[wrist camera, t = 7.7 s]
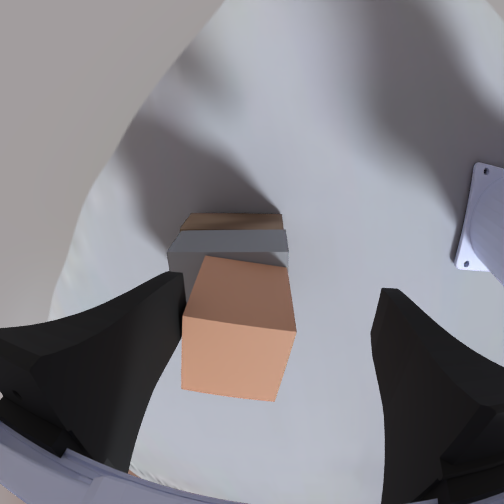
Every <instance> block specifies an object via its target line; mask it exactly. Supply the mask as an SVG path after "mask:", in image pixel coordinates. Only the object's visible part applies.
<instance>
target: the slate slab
mask: <svg viewBox="0 0 504 504" xmlns="http://www.w3.org/2000/svg"><path fill="white" fill-rule="evenodd" d="M205 255H206V256H212V257H219V258H225V259H232V260H239V261H246V262H252V263H259V264H266V265H273V266H280V267H286V268H287V271H288V261H289V250H288V243H287V236H286V230H187V231H181V232H180V233H179V235H178V236H177V238H176V239H175V241H174V242H173V244H172V245H171V247H170V248H169V249H168V251H167V258H168V264H169V271H171V272H181V273H183V278H184V286H185V294H186V302H188V300H189V297H190V294H191V292H192V289H193V286H194V284H195V281H196V278H197V276H198V273H199V270H200V268H201V265H202V263H203V260H204V257H205Z"/></svg>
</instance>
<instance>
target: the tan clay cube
mask: <svg viewBox="0 0 504 504" xmlns="http://www.w3.org/2000/svg"><path fill="white" fill-rule="evenodd" d="M296 332H297V331H296V324H295V317H294V310H293V304H292V297H291V290H290V284H289V277H288V271H287V268H286V267H280V266H273V265H266V264H259V263H252V262H246V261H239V260H232V259H225V258H219V257H212V256H206V255H205V257H204V260H203V263H202V265H201V268H200V270H199V273H198V276H197V278H196V281H195V284H194V286H193V289H192V292H191V294H190V297H189V300H188V302H187V305H186V308H185V311H184V313H183V319H182V367H181V389H185V390H190V391H196V392H202V393H208V394H214V395H221V396H228V397H236V398H244V399H253V400H262V401H273V402H275V399H276V396H277V393H278V390H279V387H280V384H281V381H282V377H283V374H284V371H285V368H286V365H287V362H288V359H289V355H290V352H291V349H292V346H293V342H294V339H295V336H296Z"/></svg>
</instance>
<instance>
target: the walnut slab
mask: <svg viewBox="0 0 504 504" xmlns="http://www.w3.org/2000/svg"><path fill="white" fill-rule="evenodd" d="M187 230H284V228H283V220H282V214H249V213H191V214H190V216H189V217H188V218H187V220H186V221H185V222H184V224H183V225H182V227H181V228H180V232H181V231H187Z"/></svg>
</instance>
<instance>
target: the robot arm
mask: <svg viewBox="0 0 504 504" xmlns="http://www.w3.org/2000/svg"><path fill="white" fill-rule="evenodd" d="M485 168H486V170H487V171H486V173H485V174H484V169H485ZM466 261H467V263H466V264H465V265H464V263H465V262H466ZM454 265H455V267H456V268H457V269H460V270H474V271H487V272H491V273H492V274H493V275H494V276H495V277H496V278H497V279H498V280H499V282H500V283H501V284H502V285H503V286H504V168H500V167H496V166H492V165H489V164H485V163H481V162H477V163H476V164H475V165H474V168H473V175H472V182H471V188H470V194H469V199H468V205H467V210H466V215H465V220H464V224H463V229H462V233H461V237H460V242H459V246H458V249H457V253H456V257H455V261H454ZM186 305H187V302H186V294H185V286H184V278H183V273H181V272H171V271H168V272H165V273H163V274H160V275H158V276H156V277H154V278H152V279H151V280H149V281H147V282H145V283H143V284H141V285H139V286H137V287H136V288H134V289H132V290H130V291H128V292H126V293H124V294H122V295H120V296H118V297H116V298H114V299H112V300H110V301H108V302H106V303H104V304H101V305H99V306H97V307H94V308H92V309H89V310H86V311H84V312H81V313H78V314H75V315H71V316H68V317H65V318H61V319H58V320H54V321H49V322H45V323H40V324H34V325H28V326H19V327H9V328H0V392H1V393H2V395H3V397H2V398H1V400H0V484H2V485H3V486H4V487H6V488H7V489H8V490H9V491H11V492H12V493H13V494H14V495H16V496H17V497H18V498H20V499H21V500H23V501H24V502H25V503H27V504H247V503H241V502H234V501H228V500H223V499H217V498H212V497H207V496H203V495H198V494H194V493H190V492H186V491H182V490H178V489H174V488H171V487H167V486H164V485H160V484H157V483H154V482H150V481H147V480H144V479H141V478H138V477H135V476H132V475H130V474H128V470H129V466H130V461H131V457H132V453H133V449H134V446H135V442H136V439H137V435H138V432H139V429H140V426H141V423H142V420H143V417H144V414H145V411H146V408H147V406H148V403H149V400H150V398H151V395H152V393H153V390H154V388H155V386H156V384H157V382H158V380H159V378H160V376H161V374H162V373H163V371H164V369H165V367H166V365H167V363H168V362H169V360H170V358H171V356H172V354H173V352H174V351H175V349H176V347H177V345H178V343H179V341H180V339H181V337H182V319H183V313H184V311H185V308H186ZM371 346H372V356H373V361H374V366H375V371H376V375H377V380H378V385H379V390H380V395H381V400H382V405H383V413H384V429H385V466H384V482H383V492H382V501H381V504H504V367H502V366H500V365H498V364H496V363H494V362H492V361H491V360H489V359H487V358H485V357H483V356H482V355H480V354H478V353H477V352H475V351H473V350H472V349H470V348H469V347H467V346H466V345H464V344H463V343H462V342H460V341H459V340H457V339H456V338H455V337H453V336H452V335H451V334H449V333H448V332H447V331H446V330H444V329H443V328H442V327H441V326H439V325H438V324H437V323H436V322H435V321H434V320H432V319H431V318H430V317H429V316H428V315H427V314H426V313H425V312H424V311H422V310H421V309H420V308H419V307H418V306H417V305H416V304H415V303H414V302H413V301H412V300H410V299H409V298H408V297H407V296H406V295H405V294H404V293H402V292H401V291H400V290H399V289H394V288H382V289H381V293H380V298H379V302H378V306H377V310H376V314H375V318H374V322H373V326H372V329H371Z"/></svg>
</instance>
